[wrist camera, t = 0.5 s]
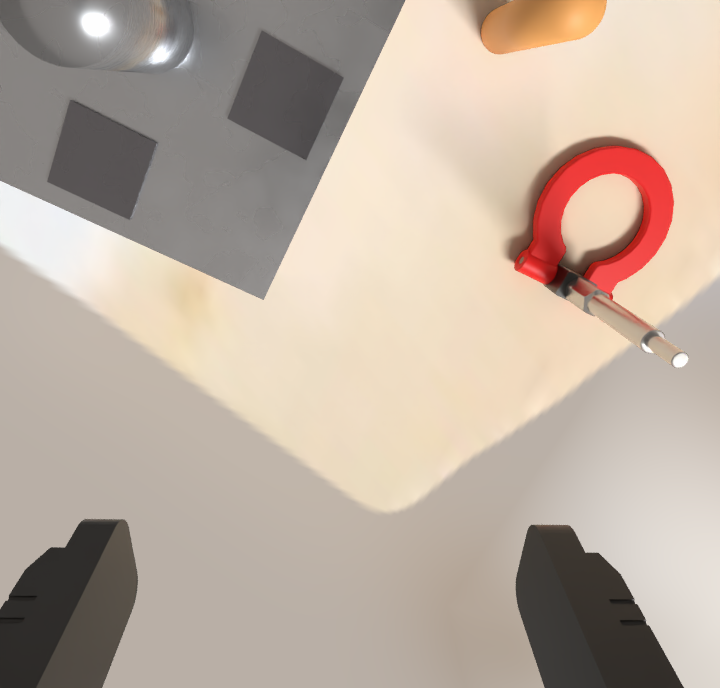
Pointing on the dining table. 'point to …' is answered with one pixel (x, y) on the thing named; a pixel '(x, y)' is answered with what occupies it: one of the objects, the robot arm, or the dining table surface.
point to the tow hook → (604, 275)
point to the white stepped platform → (184, 116)
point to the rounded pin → (539, 23)
